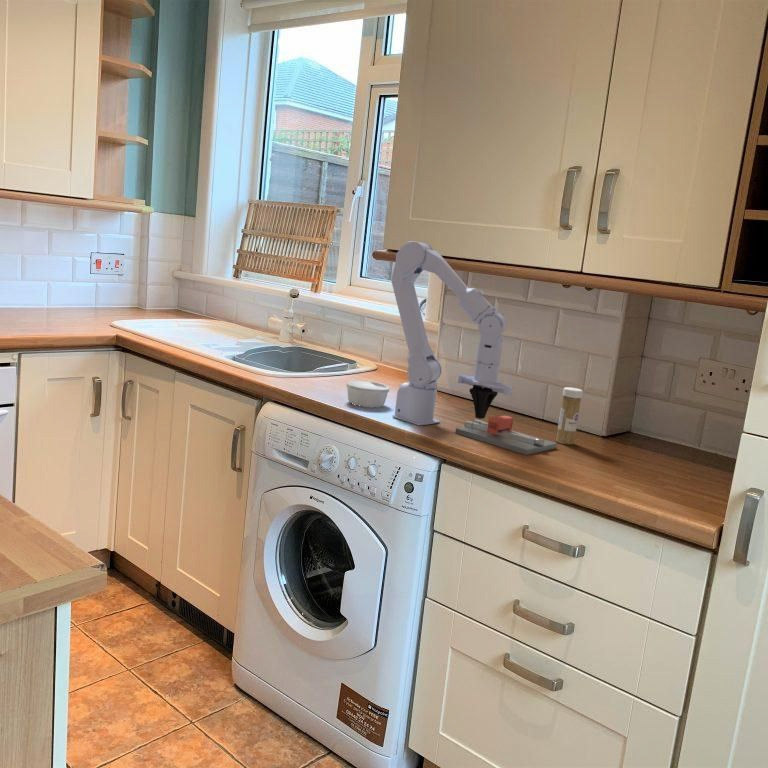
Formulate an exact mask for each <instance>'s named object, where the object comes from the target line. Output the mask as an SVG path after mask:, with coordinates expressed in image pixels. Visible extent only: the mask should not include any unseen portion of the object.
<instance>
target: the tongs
mask: <svg viewBox="0 0 768 768" xmlns="http://www.w3.org/2000/svg"><path fill="white" fill-rule="evenodd" d="M463 424H464V426H463V427H469V428H474V429H478V430H481V431H485V432H487V428H488V422H486V421H484V420H482V419H479V418H476V419H473V420H472V421H470V420H464V423H463ZM514 431H515V430H513V431H511V430H508V429H500V430H498V433H497V434H496V435H500V436H503V437H507V438H511V439H514V440H518V441H521V442H525V443H529V444H532V445H535V446H539V447H543V446H544V440H545V439H544V438H541V437H537V438H533V437H534V436H533V437H530V436H531V435H530V436H527V435H528V434H526V435H524V434H525V433H523V434H521V433H522V432H520V433H518V432H519V431H516V432H514Z"/></svg>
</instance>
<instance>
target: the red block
mask: <svg viewBox="0 0 768 768" xmlns="http://www.w3.org/2000/svg"><path fill="white" fill-rule="evenodd" d="M487 423H488V428H487V432H488V433H491V434H495V435H496V434H497V433H498V430H500V429H508V430H511V431H512V430H513V424H514V417H512V416H510V415H499V416H493V417H488V422H487Z"/></svg>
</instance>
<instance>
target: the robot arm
mask: <svg viewBox="0 0 768 768" xmlns="http://www.w3.org/2000/svg"><path fill="white" fill-rule="evenodd" d="M423 271H426V272H429V273H432V274H435V275H436V276H437V277H438V278H439V279H440V280H441V281H442V282H443V283H444V284H445V285H446V286H447V287H448V288H449V289H450V290H451V291H452V292H453V293H454V294H455V295H456V296H457V305H458V306H459V307H460V308H461V310H462V311H464V313H465V314H466V315H467V316H468V317H469V318H470V319H471V321H472V322H473V323H474V324H476V325H477V328H478V332H479V333H480V334H479V340H478V345H477V351H476V358H475V367H474V373H473V375H472V376H471V375H466V374H459V375H458V377H457V378H458V379H457V383H458V384H465V385H468V386H470V387H471V386H472V387H471V388H469V393H470V396H471V399H472V401H473V408H474V414H475V415H474V416H475V418H476V419H478V420H482V419H485V418H486V416H487V412H488V411H489V408H490V407H491V404H492V402H493V401H494V400H495V398H496V397H497V396H498V393H499V394H503V395H504V396H511V395H512V394H513V393H512V392H513V386H510V385H508V384H505V383H502V382H499V381H498V379H499V371H500V365H501V358H502V351H503V341H504V335H503V334H504V333H505V331H506V330H507V327H508V321H507V319H506V317H505V316H504V314H503V313H501V312H499V311H497V310H498V308H497V307H496V306H495V305H494V306H492V304H491V303H490V302H489V301H488V300H487V299H486V298H485V297H484V295H485V292H484V291H483V290H480V289H479V290H478V289H477V288H475V287H468V285H466V284H465V282H464V281H463V280H462V279H461V277H459V275H458V274H457V272H455V271H454V269H453V267H451V265H450V264H449V263H448V262H447V261H446V259H445V258H444V257H443V256H442V255H441V254H440V253H439V252H438V251H437V250H435V249H434V248H433V247H432V245H430V243H427V242H422V241H421V242H419V241H415V240H414V241H413V240H411V241H407V242H405V243H404V244H403V245H402V246H401V247H400V248H399V250H398V251H397V253H396V254H395V264H394V268H393V271H392V275H391V285H392V289H393V293H394V297H395V302H396V306H397V308H398V313H399V317H400V320H401V324H402V327H403V328H402V329H403V333H404V337H405V340H406V345H407V349H408V353H407V357H406V358H407V359H406V360H407V366H408V367H407V373H406V374H407V375H406V376H407V379H408V381H407V382H403V383H402V384H401V385H400V386H399V387H398V389H397V394H396V401H395V407H394V414H392V415H391V416H392V417H393V418H395V419H399V420H401V421H405V422H408V423H410V424H415V425H418V426H426V425H433V424H440V423H441V420H438V419H436V418H434V414H435V409H436V401H437V392H438V384H437V381H438V379H439V378H440V377H441V375H442V366H441V363H440V362H439V360H437V358H436V356H435V352H434V350H433V349H432V348H431V346H430V344H429V339H428V335H427V332H426V328H425V324H424V319H423V315H422V312H421V309H420V304H419V299H418V295H417V292H416V288H415V282H416V281H417V279H418V277H419V276H420V274H421V273H422V272H423Z"/></svg>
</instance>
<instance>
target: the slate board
mask: <svg viewBox="0 0 768 768" xmlns="http://www.w3.org/2000/svg"><path fill="white" fill-rule="evenodd" d="M512 431H514V432H518V433H521V434H524V435H527V436H530V437H533V438H538V437H536V436H533V435H530V434H526V433H523V432H519V431H515V430H513V429H512ZM455 434H457V435H461V436H463V437H467V438H470V439H473V440H477V441H480V442H483V443H487V444H489V445H492V446H493V445H494V446H497V447H500V448H503V449H505V450H509V451H513V452H514V453H518V454H522V455H525V456H528V455H532V454H537V453H541V452H545V451H549V450H554V449H557V446H558V445H557V444H558V442H553V441H551V440H548V439H544V446H543V447H539V446H535V445H532V444H529V443H525V442H521V441H518V440H514V439H511V438H507V437H503V436H500V435H495V434H491V433H488V432H485V431H481V430H478V429H474V428H469V427H465V426H460V427H456V428H455Z"/></svg>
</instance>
